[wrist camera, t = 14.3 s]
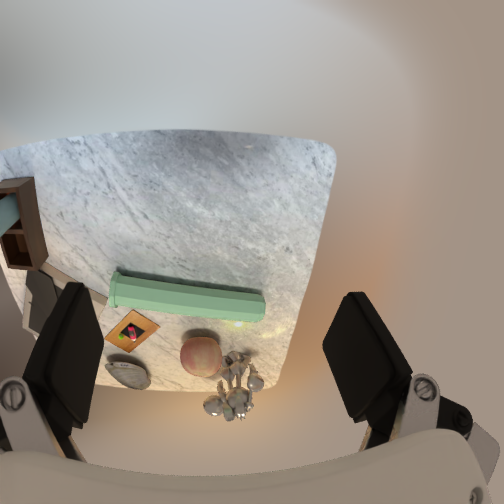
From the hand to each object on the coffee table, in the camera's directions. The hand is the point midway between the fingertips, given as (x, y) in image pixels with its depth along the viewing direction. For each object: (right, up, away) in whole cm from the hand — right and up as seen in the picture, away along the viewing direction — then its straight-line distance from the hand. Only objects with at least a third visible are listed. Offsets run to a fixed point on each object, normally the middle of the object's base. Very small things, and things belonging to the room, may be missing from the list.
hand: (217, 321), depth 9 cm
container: (-9, -4, +35) cm, 36 cm away
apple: (-9, -15, +42) cm, 45 cm away
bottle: (-35, +10, +20) cm, 42 cm away
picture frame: (-36, -9, +33) cm, 50 cm away
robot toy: (-4, -22, +47) cm, 52 cm away
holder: (-36, +8, +23) cm, 43 cm away
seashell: (-26, -23, +44) cm, 56 cm away
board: (-22, -13, +38) cm, 46 cm away
